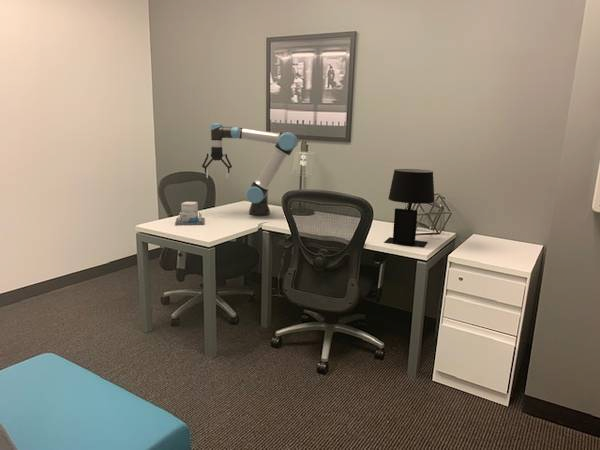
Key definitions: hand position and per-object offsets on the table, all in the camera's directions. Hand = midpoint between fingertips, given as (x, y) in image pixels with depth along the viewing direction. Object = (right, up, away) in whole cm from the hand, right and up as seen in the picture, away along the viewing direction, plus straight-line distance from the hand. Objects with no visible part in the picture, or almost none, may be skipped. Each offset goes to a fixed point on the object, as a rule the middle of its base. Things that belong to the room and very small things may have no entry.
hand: (217, 177), depth 313 cm
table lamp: (+119, -42, -52) cm, 137 cm away
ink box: (-14, -30, -19) cm, 38 cm away
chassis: (-14, -31, -19) cm, 39 cm away
